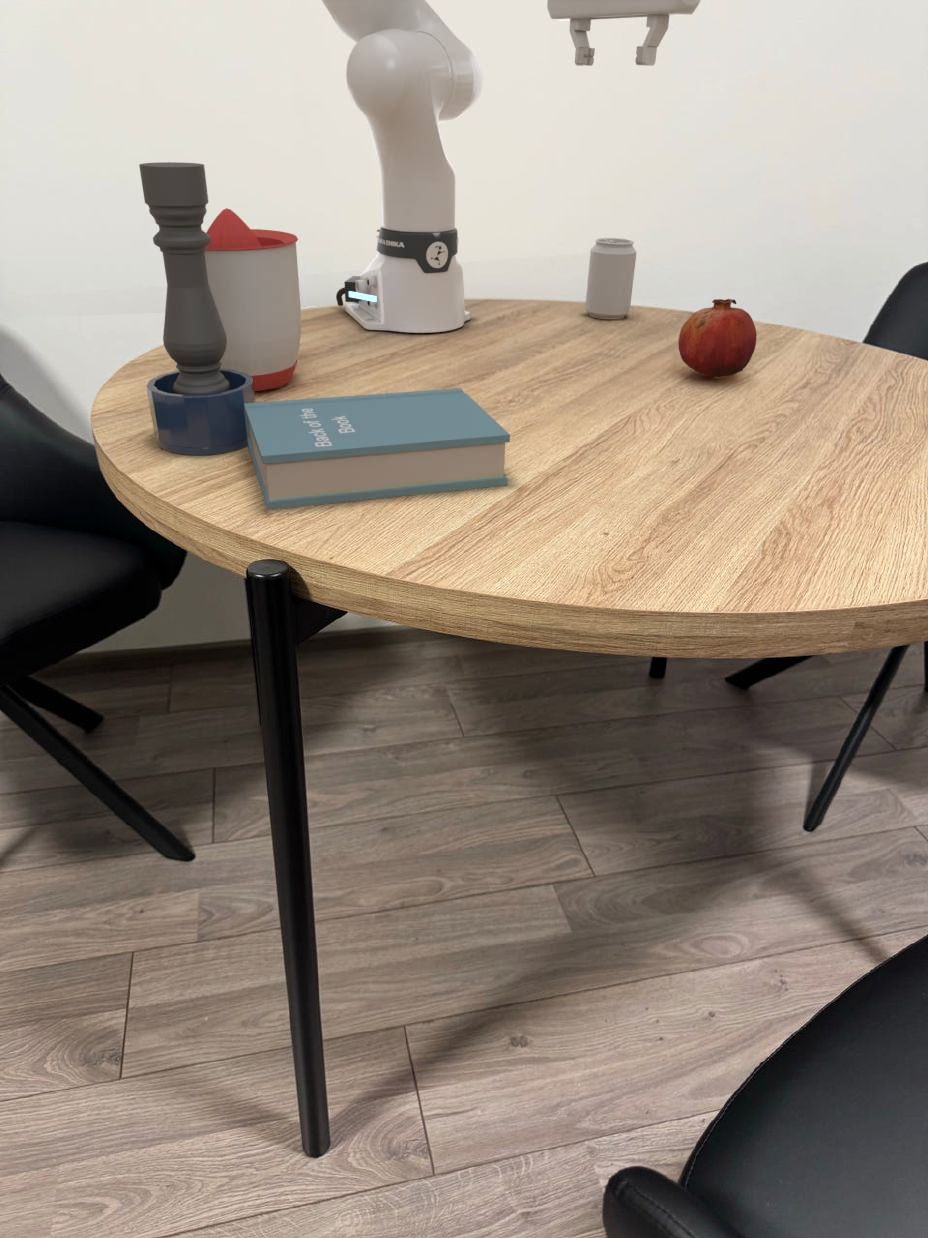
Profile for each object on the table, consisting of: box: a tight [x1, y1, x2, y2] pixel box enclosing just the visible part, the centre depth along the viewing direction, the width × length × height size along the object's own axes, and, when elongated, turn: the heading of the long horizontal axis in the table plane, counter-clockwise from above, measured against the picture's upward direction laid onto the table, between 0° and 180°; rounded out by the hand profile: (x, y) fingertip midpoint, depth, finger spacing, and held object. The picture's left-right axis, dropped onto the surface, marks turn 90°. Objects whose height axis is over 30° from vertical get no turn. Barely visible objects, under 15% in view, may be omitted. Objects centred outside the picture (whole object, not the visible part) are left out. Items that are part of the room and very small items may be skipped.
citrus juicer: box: [205, 207, 302, 392], centre depth 106 cm, size 16×17×20 cm
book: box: [244, 387, 511, 511], centre depth 86 cm, size 23×16×5 cm
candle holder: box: [138, 161, 230, 395], centre depth 86 cm, size 6×6×25 cm
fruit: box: [678, 298, 757, 378], centre depth 115 cm, size 11×10×10 cm
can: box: [584, 237, 637, 320], centre depth 146 cm, size 8×8×12 cm
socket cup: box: [146, 368, 256, 456], centre depth 91 cm, size 10×10×6 cm
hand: (613, 65), depth 102 cm, fingers open, 8 cm apart
